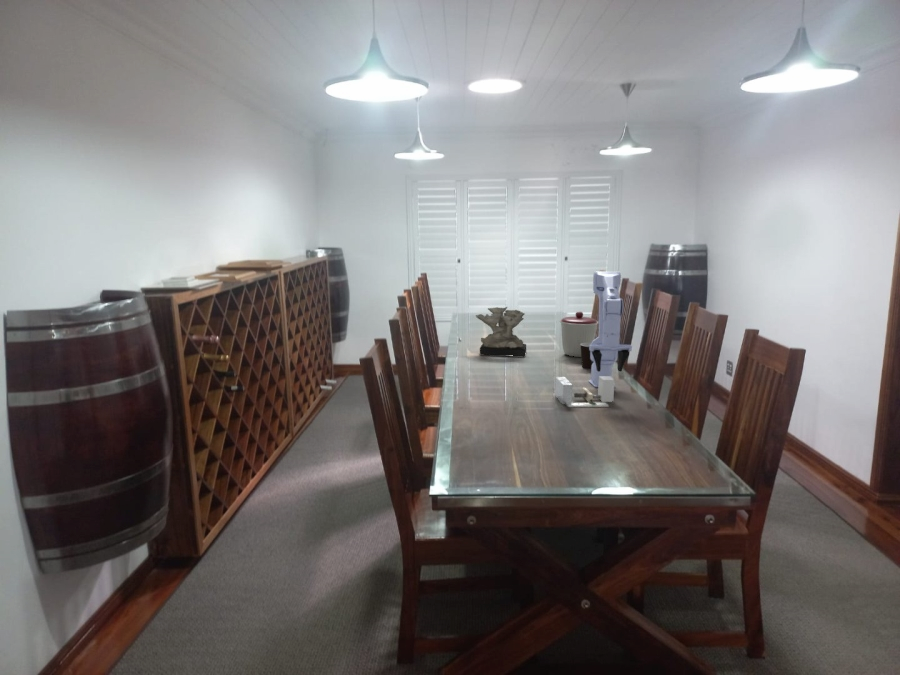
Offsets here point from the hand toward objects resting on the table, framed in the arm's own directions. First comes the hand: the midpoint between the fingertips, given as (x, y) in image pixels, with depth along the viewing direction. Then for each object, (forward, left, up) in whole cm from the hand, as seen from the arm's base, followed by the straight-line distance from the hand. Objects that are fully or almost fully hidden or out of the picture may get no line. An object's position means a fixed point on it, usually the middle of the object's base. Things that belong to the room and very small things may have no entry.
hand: (609, 370), depth 208 cm
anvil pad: (+3, -10, -10) cm, 14 cm away
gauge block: (+1, -2, -10) cm, 11 cm away
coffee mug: (-49, +9, -11) cm, 51 cm away
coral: (-82, -27, -11) cm, 87 cm away
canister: (-74, +9, -11) cm, 75 cm away
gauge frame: (+2, -10, -10) cm, 15 cm away
